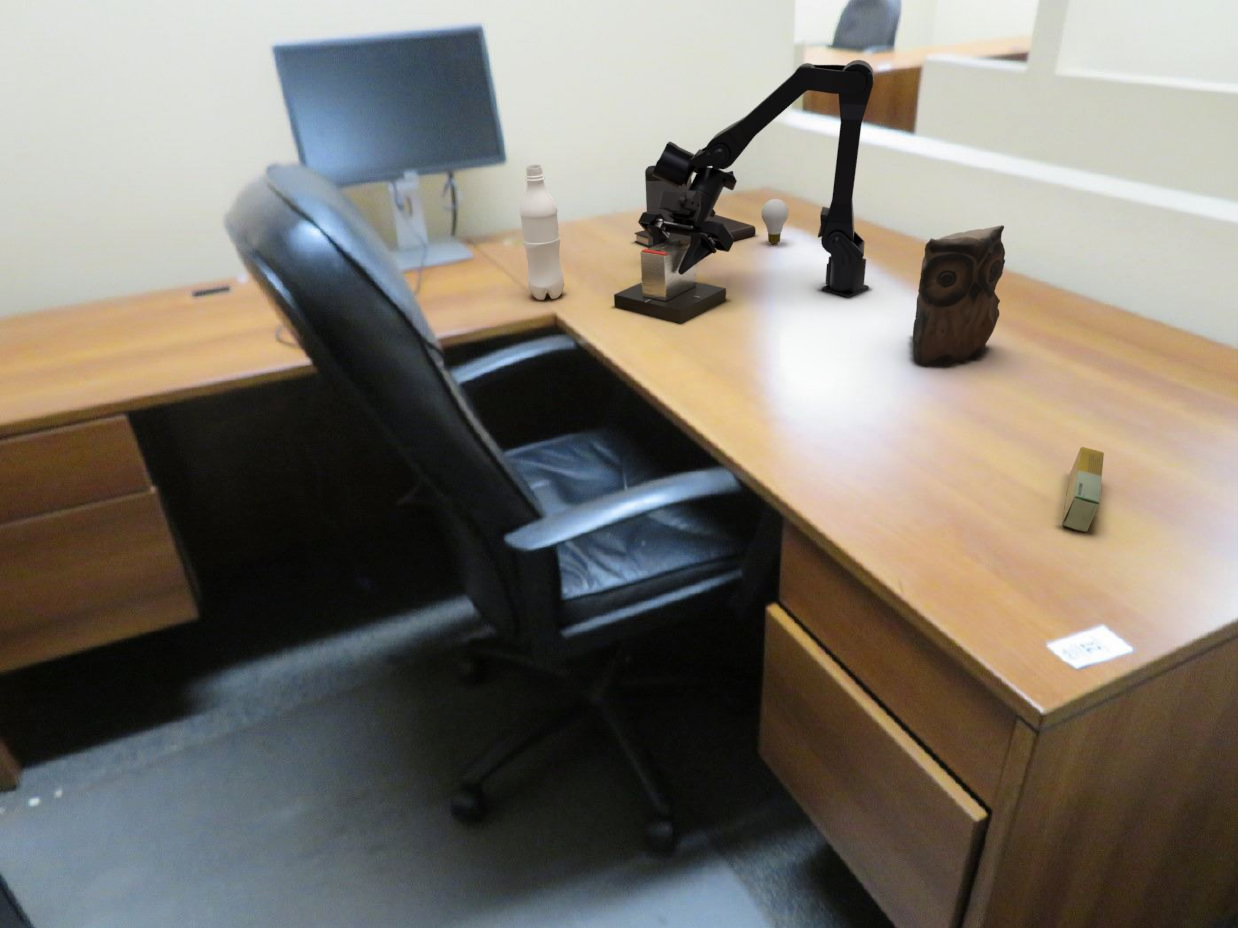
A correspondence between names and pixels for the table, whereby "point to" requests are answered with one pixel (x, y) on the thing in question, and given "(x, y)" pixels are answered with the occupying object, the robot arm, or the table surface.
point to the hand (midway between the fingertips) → (665, 270)
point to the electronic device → (654, 196)
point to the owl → (958, 297)
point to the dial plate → (672, 302)
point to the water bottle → (541, 237)
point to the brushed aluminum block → (666, 270)
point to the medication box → (1083, 490)
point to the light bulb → (774, 218)
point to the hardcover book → (733, 226)
